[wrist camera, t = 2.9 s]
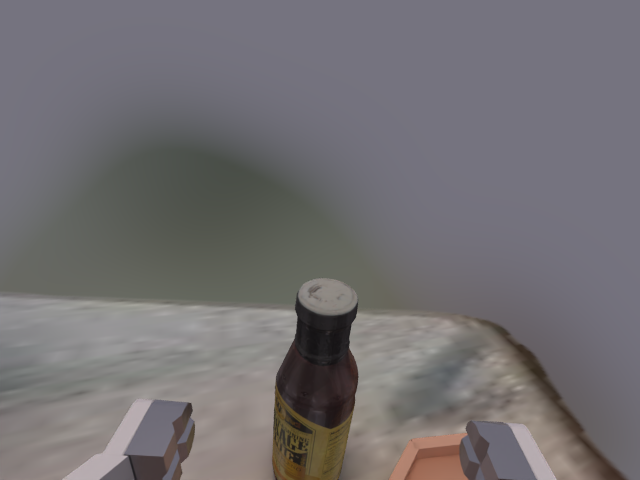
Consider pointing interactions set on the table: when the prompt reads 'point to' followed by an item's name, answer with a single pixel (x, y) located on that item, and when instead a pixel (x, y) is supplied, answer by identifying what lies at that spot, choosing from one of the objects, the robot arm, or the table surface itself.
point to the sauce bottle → (316, 385)
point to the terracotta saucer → (431, 459)
